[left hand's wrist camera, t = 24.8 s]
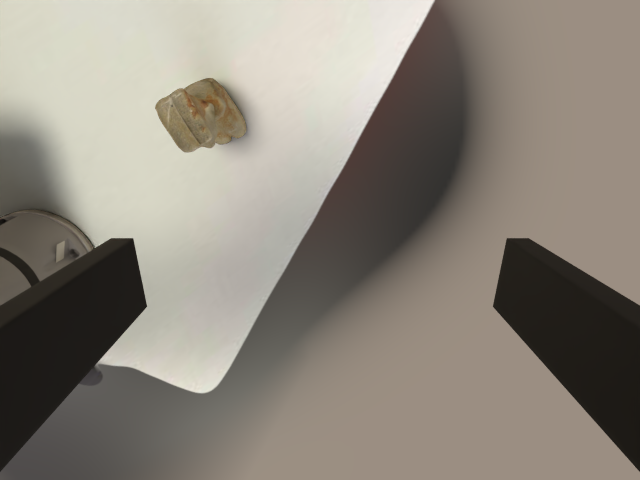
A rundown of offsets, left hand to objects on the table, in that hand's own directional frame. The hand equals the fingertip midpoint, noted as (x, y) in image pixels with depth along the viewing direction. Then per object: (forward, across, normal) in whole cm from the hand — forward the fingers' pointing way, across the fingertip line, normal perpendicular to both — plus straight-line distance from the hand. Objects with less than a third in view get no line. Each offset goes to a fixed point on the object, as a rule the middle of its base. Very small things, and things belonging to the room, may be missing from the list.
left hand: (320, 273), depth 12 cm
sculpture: (+36, +12, -5) cm, 38 cm away
